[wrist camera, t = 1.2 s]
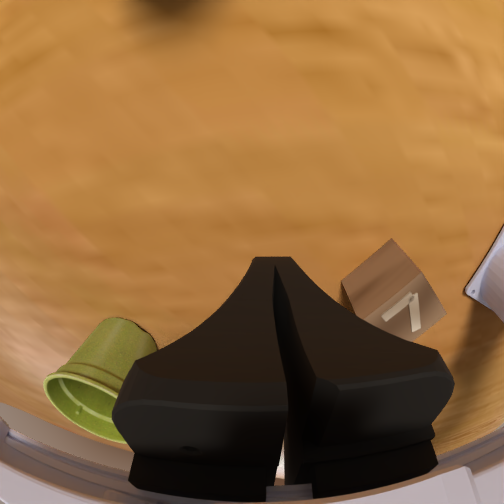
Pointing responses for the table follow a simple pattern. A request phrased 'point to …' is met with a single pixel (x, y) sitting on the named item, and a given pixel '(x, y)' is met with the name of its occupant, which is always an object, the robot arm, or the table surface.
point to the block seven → (393, 294)
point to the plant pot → (98, 376)
